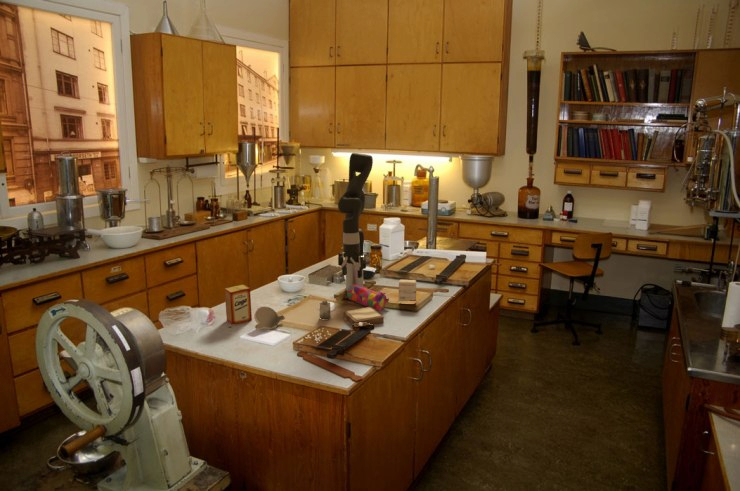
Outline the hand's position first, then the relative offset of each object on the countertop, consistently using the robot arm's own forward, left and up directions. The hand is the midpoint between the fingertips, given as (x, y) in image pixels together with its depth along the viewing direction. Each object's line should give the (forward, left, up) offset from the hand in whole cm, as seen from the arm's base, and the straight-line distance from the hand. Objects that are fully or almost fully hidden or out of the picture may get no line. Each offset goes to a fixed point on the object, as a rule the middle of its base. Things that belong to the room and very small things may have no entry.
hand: (352, 276), depth 257 cm
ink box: (-7, +33, -21) cm, 39 cm away
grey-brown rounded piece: (-8, -38, -21) cm, 45 cm away
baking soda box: (-20, -48, -21) cm, 56 cm away
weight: (-6, -11, -21) cm, 24 cm away
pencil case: (-13, +14, -21) cm, 28 cm away
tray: (+4, +4, -21) cm, 21 cm away
